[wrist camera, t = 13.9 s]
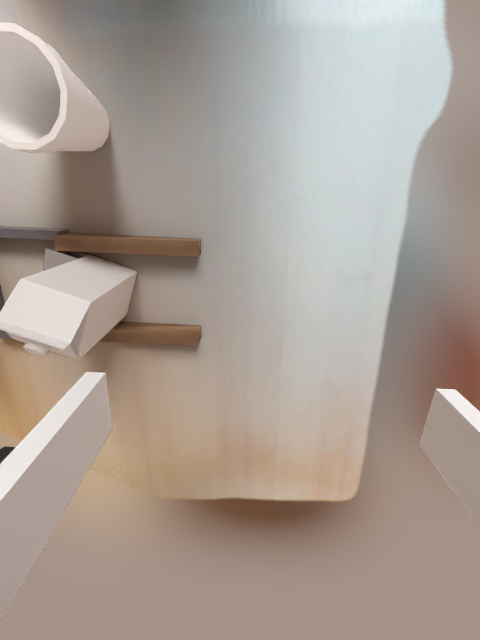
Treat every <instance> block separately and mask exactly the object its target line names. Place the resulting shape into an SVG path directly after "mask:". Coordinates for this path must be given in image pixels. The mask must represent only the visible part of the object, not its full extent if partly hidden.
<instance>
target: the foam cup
mask: <svg viewBox="0 0 480 640" xmlns="http://www.w3.org/2000/svg"><path fill="white" fill-rule="evenodd" d="M109 128H110V122H109V119H108V116H107V112H106V110H105V109H104V108H103V106H102V105H101V104H100V102H99V101H98V100H97V99H96V97H95V96H94V95H93V94H92V93H91V92H90V91H89V90H88V89H87V88H86V86H85V85H84V84H83V83H82V82H81V81H80V80H79V79H78V78H77V77H76V75H75V74H74V73H73V72H72V71H71V70H70V69H69V67H68V66H67V65H66V63H65V62H64V61H63V60H62V58H61V57H60V56H59V54H58V53H57V52H56V50H55V49H53V48H52V47H51V46H50V45H48V44H47V43H46V42H44V41H43V40H42V39H41V38H39V37H38V36H36V35H34V34H32V33H31V32H29V31H27V30H26V29H24V28H22V27H20V26H19V25H17V24H15V23H7V22H0V143H2V144H4V145H6V146H8V147H10V148H12V149H15V150H19V151H24V152H29V153H52V152H54V151H95V150H96V149H98V148H100V147H102V146H103V145H104V143H105V142H106V140H107V138H108V137H109Z"/></svg>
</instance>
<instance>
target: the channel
mask: <svg viewBox="0 0 480 640" xmlns="http://www.w3.org/2000/svg"><path fill="white" fill-rule="evenodd" d="M53 240H54V246H55V251H75V252H97V253H119V254H141V255H162V256H184V257H198V256H199V255H200V254H201V239H188V238H166V237H144V236H122V235H100V234H78V233H66V234H61V235H53ZM200 338H201V326H196V325H175V324H154V323H133V322H118V323H117V324H116V325H115V326H114V327H113V328H112V329H111V330H110V331H109V332H108V333H107V334H106V335H105V336H104V337H103V338H102V339H101V340H100V341H107V342H128V343H149V344H170V345H191V346H198V344H199V341H200Z"/></svg>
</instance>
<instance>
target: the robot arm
mask: <svg viewBox="0 0 480 640" xmlns="http://www.w3.org/2000/svg"><path fill="white" fill-rule="evenodd" d="M111 431H112V421H111V413H110V404H109V396H108V388H107V379H106V373H101V372H86V373H85V374H84V375H83V376H82V377H81V378H80V379H79V380H78V381H77V383H76V384H75V385H74V386H73V387H72V388H71V389H70V390H69V391H68V392H67V393H66V394H65V395H64V396H63V397H62V399H61V400H60V401H59V402H58V403H57V404H56V405H55V406H54V407H53V408H52V409H51V410H50V411H49V412H48V413H47V415H46V416H45V417H44V418H43V419H42V420H41V421H40V422H39V423H38V424H37V425H36V426H35V427H34V428H33V429H32V431H31V432H30V433H29V434H28V435H27V436H26V437H25V438H24V439H23V440H22V441H21V442H20V443H19V444H18V446H17V447H3V448H1V449H0V619H1V617H2V616H3V614H4V612H5V611H6V609H7V607H8V605H9V604H10V602H11V600H12V599H13V597H14V595H15V594H16V592H17V590H18V589H19V587H20V585H21V583H22V582H23V580H24V578H25V577H26V575H27V573H28V572H29V570H30V568H31V566H32V565H33V563H34V561H35V560H36V558H37V556H38V554H39V553H40V551H41V550H42V548H43V546H44V544H45V543H46V541H47V539H48V538H49V536H50V534H51V533H52V531H53V529H54V527H55V526H56V524H57V522H58V521H59V519H60V517H61V516H62V514H63V512H64V511H65V509H66V507H67V505H68V504H69V502H70V500H71V498H72V497H73V495H74V494H75V492H76V490H77V488H78V487H79V485H80V483H81V481H82V480H83V478H84V477H85V475H86V473H87V472H88V470H89V468H90V466H91V465H92V463H93V461H94V460H95V458H96V456H97V455H98V453H99V451H100V449H101V448H102V446H103V444H104V443H105V441H106V439H107V438H108V436H109V434H110V433H111ZM420 446H421V447H422V449H423V450H424V452H425V453H426V454H427V456H428V457H429V459H430V460H431V462H432V463H433V464H434V466H435V467H436V469H437V470H438V472H439V473H440V474H441V476H442V477H443V479H444V480H445V481H446V483H447V484H448V486H449V487H450V489H451V490H452V492H453V493H454V494H455V496H456V497H457V499H458V500H459V501H460V503H461V504H462V506H463V507H464V509H465V510H466V511H467V513H468V514H469V516H470V517H471V519H472V520H473V521H474V523H475V524H476V526H477V527H478V528H479V530H480V412H479V411H478V410H477V409H476V408H475V407H474V406H473V405H472V404H471V403H470V402H468V401H467V400H466V399H465V398H464V397H463V396H462V395H461V394H459V393H458V392H457V391H456V390H453V389H452V390H451V389H436V391H435V394H434V397H433V400H432V404H431V407H430V410H429V414H428V417H427V420H426V424H425V427H424V430H423V434H422V437H421V441H420Z"/></svg>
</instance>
